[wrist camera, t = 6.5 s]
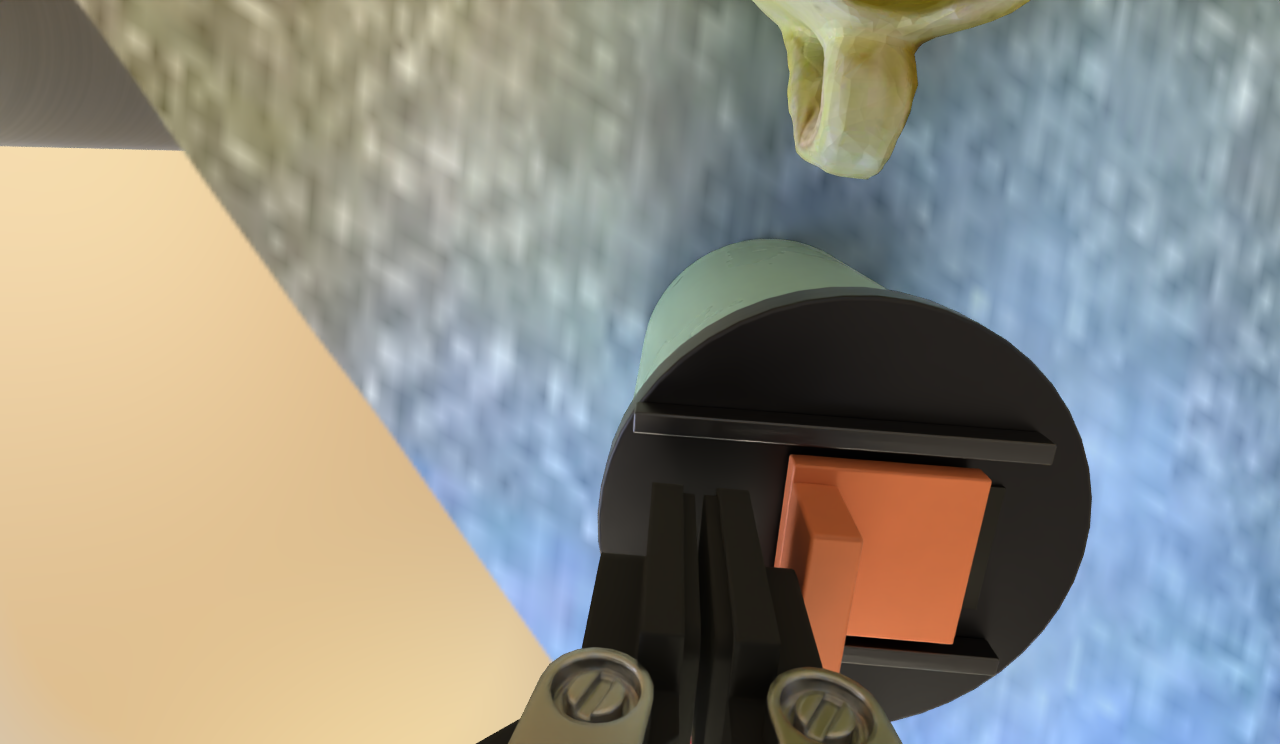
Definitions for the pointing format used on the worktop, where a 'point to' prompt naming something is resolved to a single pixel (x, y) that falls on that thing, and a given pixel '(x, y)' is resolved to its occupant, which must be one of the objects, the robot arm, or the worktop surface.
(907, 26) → the mug
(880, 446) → the tumbler
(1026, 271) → the worktop surface
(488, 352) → the worktop surface
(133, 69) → the worktop surface
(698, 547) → the robot arm
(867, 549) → the slider
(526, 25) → the worktop surface
